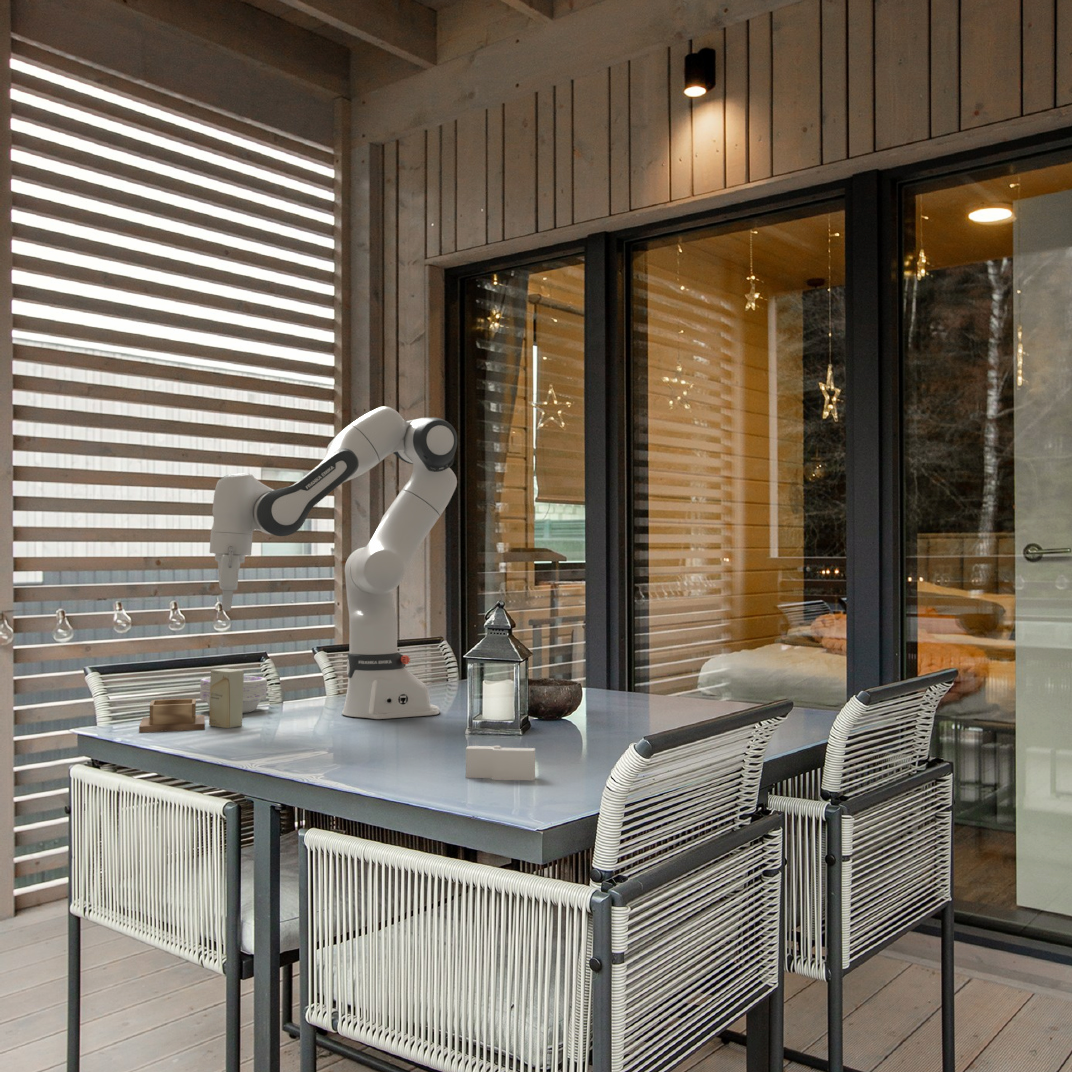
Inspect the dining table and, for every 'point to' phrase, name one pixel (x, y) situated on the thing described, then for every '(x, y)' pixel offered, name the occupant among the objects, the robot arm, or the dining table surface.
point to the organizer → (172, 716)
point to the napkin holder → (500, 763)
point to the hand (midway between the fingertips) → (226, 609)
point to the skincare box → (226, 698)
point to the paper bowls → (251, 691)
